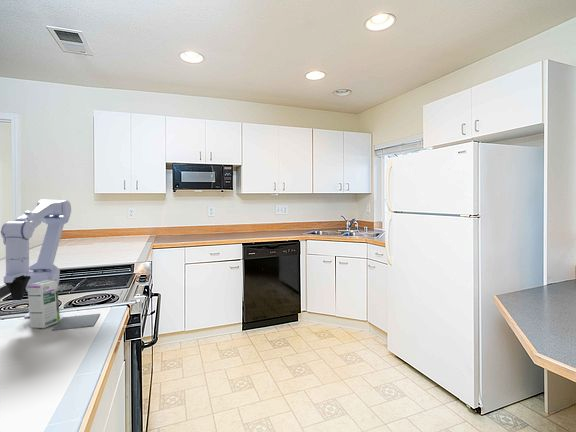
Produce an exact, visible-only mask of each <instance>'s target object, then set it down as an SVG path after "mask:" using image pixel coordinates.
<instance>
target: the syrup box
mask: <svg viewBox="0 0 576 432" xmlns="http://www.w3.org/2000/svg"><path fill="white" fill-rule="evenodd" d="M27 287H28V291H27V295H28V296H27V299H28V313H30V317H29V322H30V323H29V324H30V325H29V326H30V328H32V329H33V328H35V329H45V328H48V327H51V326H52V325H55V324H57V323H58V322H60V320H61V319H60V304H59V303H60V302H59V289H58V285H57V281H55V280H46V281H42V282H37V283H33V284H29V285H27Z"/></svg>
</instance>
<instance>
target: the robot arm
mask: <svg viewBox="0 0 576 432" xmlns="http://www.w3.org/2000/svg"><path fill="white" fill-rule="evenodd" d="M71 215H72V205H71V202H70V200H67V199H64V200H63V199H62V200H60V199H59V200H58V199H42V198H41V199H40V200H38V201H37V203H36V207H35V208H34V209H33V211H32V210H26V211H24V212H23V213H22V214H21V215H20V216H19V217H17V218H16V219H14V220H12V221H6V222H5V223H4V224H2V226H1V230H0V235H1V238H2V240H3V245H5V272H4V276H3V283H4V284H5V285H6V286H7V288H8V291H9V293H10V295H11V298H12V301H13V302H14V301H21V300H23V299H24V295H25V291H26V292H28V287H27V285H29V284H33V283H37V282H42V281H46V280H55V281H57V286H58V285H59V283H60V274H61V270H60V269H59V267H58V266H57V265H55V260H56V257H57V256H56V255H57V251H58V248H59V244H60V241H61V237H62V234H63V230H64V226H65V224H67V223H69V220H70V217H71ZM42 223H44V224H45V225H47V227H46V231H45V235H44V238H43V240H42V245H41V248H40V251H39V255H38V257H37V261H36V262H35V263H33V264H32V265H30V238H32V236H33V235H34V232H35V229H36V228H37V227H38V226H39V225H41V224H42ZM24 318H25V319H26V318H30V313H29V312H27V313H26V314H25V315H24Z"/></svg>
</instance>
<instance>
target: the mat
mask: <svg viewBox="0 0 576 432" xmlns="http://www.w3.org/2000/svg"><path fill="white" fill-rule="evenodd" d="M100 315H101V313H93V314H82V315H81V314H80V315H74V316H73V315H70V316H63V317H61V319H60V322H58V323H56V325H55V326H54V327H53V328H52V329H51V331H54V332H55V331H60V330H61V331H62V330H70V329H71V330H72V329H78V328H91V327H94V326H95V325H96V323H97V321H98V319H99V317H100Z"/></svg>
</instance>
